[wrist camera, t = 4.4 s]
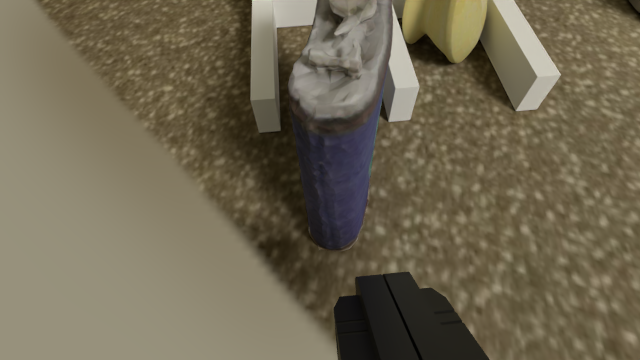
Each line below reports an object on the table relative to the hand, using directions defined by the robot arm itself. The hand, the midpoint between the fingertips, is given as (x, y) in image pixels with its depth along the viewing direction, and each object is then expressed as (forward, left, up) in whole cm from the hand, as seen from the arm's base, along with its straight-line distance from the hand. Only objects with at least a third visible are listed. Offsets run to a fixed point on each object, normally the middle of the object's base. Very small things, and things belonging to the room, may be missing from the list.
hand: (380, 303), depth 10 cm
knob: (-7, -17, -5) cm, 19 cm away
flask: (0, -8, -5) cm, 9 cm away
